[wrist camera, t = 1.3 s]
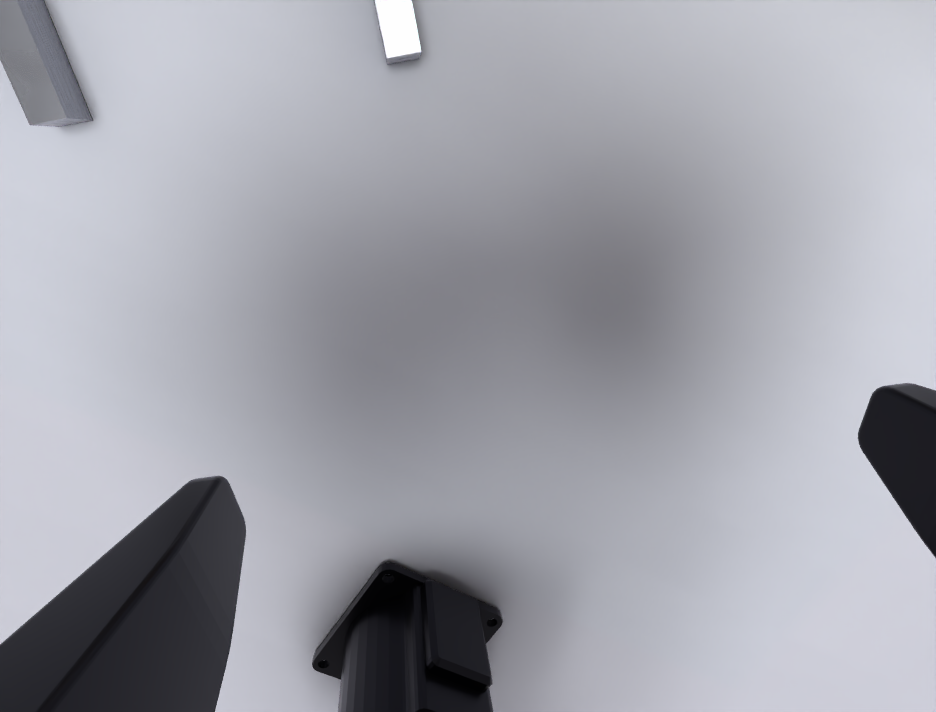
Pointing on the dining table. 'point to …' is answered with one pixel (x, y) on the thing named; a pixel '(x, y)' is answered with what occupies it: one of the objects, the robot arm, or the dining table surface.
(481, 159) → the dining table surface
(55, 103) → the lane rails
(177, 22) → the dining table surface
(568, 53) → the dining table surface
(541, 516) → the dining table surface
